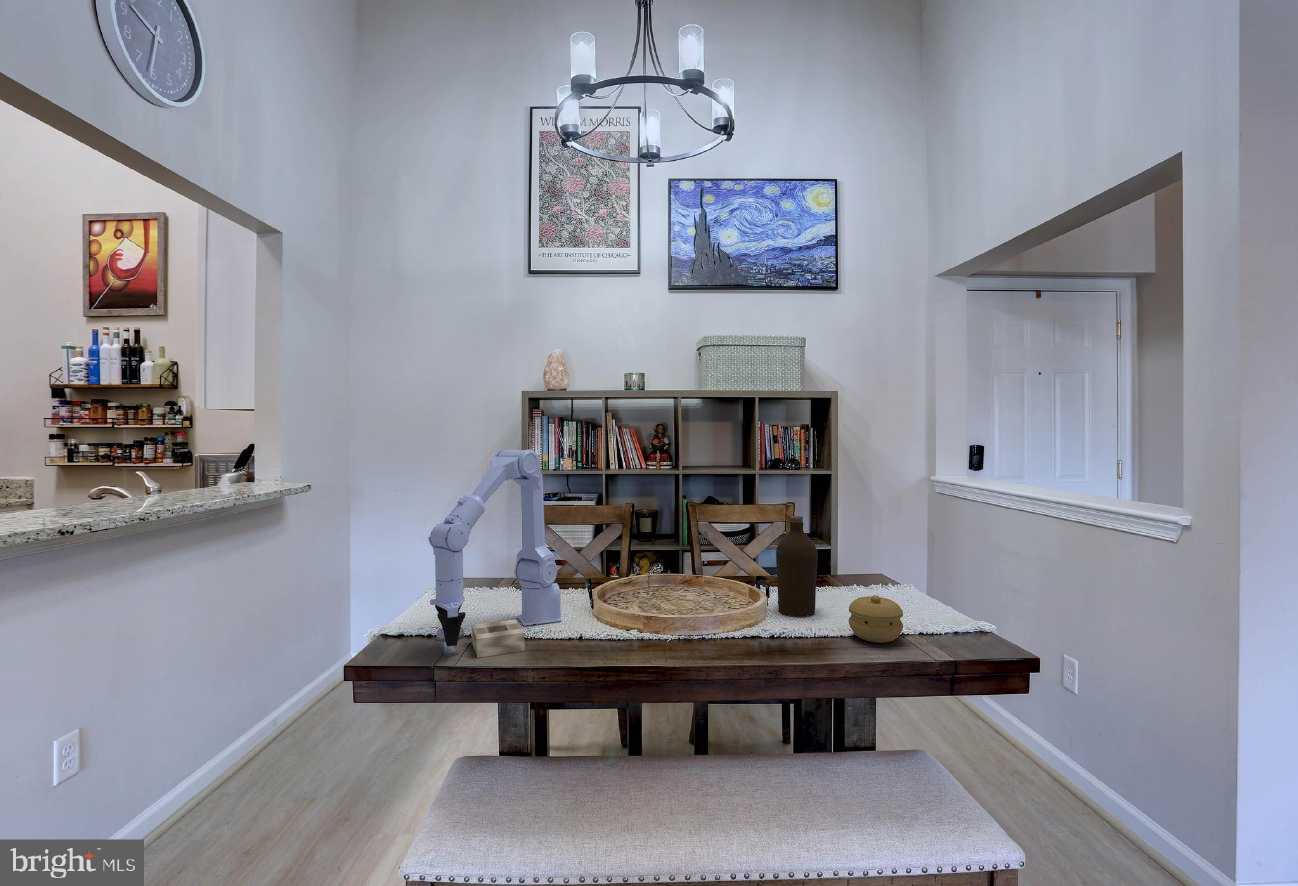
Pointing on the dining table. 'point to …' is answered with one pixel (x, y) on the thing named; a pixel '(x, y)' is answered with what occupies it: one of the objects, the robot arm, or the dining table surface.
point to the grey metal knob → (440, 637)
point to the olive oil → (796, 572)
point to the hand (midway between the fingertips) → (450, 640)
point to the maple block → (497, 638)
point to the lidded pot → (875, 619)
